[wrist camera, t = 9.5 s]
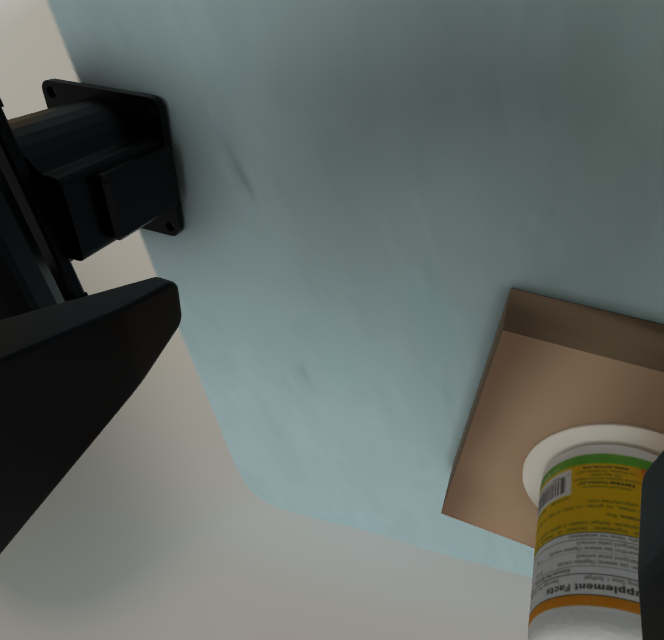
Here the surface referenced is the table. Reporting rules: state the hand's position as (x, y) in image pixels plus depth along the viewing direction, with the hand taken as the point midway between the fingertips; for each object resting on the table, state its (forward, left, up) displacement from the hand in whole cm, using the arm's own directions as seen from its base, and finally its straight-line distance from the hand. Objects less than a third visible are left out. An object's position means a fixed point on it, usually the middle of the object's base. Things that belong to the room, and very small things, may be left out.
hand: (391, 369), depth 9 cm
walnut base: (+8, -11, -12) cm, 18 cm away
